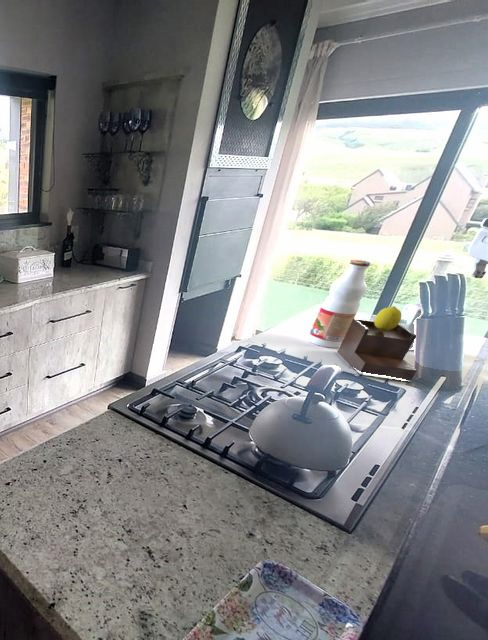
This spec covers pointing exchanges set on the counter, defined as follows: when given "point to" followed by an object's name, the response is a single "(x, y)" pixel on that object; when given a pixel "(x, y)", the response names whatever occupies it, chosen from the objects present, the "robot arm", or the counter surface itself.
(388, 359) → the brown stepped wooden block
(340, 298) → the fruit juice
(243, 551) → the counter surface
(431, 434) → the counter surface
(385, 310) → the lemon
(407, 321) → the syrup box
